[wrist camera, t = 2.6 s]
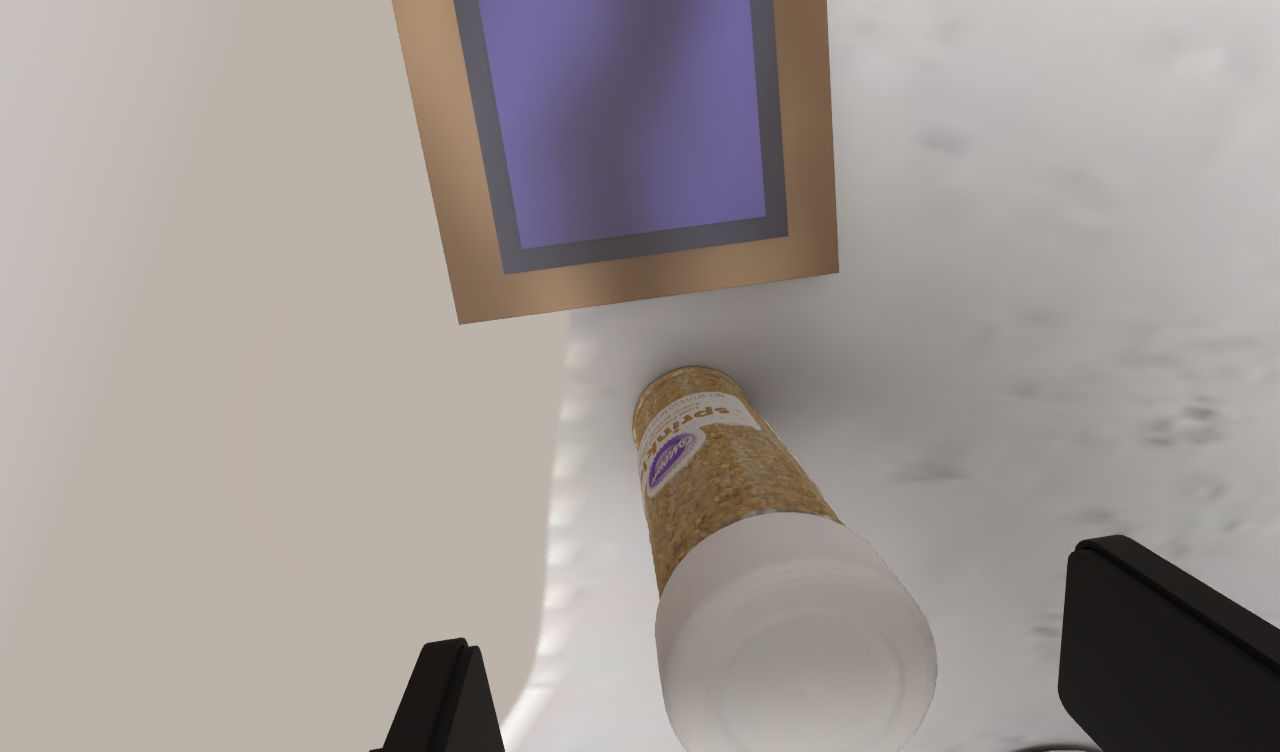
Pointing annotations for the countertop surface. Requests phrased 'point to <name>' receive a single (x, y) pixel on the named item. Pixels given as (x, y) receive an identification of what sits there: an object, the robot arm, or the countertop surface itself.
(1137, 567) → the robot arm
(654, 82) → the stamp board
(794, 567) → the sprinkles bottle
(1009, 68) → the countertop surface
